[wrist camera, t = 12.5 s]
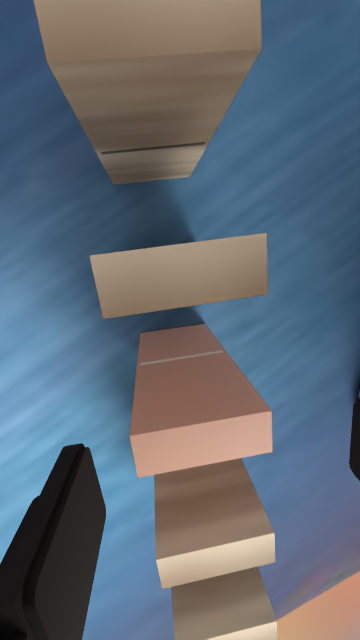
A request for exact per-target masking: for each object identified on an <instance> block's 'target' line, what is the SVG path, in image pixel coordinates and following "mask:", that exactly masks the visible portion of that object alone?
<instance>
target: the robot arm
mask: <svg viewBox="0 0 360 640" xmlns="http://www.w3.org/2000/svg"><path fill="white" fill-rule="evenodd" d="M349 464H350V468H351V470H352V472H353V474H354V475H355V476H356V477H357V478H358V480H359V481H360V392H359V398H358V399H357V401H356V403H354V405H353V417H352V431H351V445H350V460H349ZM105 518H106V508H105V503H104V500H103V496H102V492H101V488H100V485H99V481H98V477H97V474H96V470H95V466H94V463H93V459H92V455H91V451H90V448H89V447H84V445H83V444H75V445H69V446H65V447H63V449H62V451H61V453H60V455H59V457H58V459H57V461H56V463H55V465H54V467H53V469H52V471H51V473H50V475H49V477H48V479H47V481H46V483H45V485H44V488H43V490H42V492H41V494H40V496H37V497H36V498H35V499H34V500H33V501H32V503H31V505H30V506H29V508H28V510H27V512H26V514H25V516H24V518H23V520H22V522H21V524H20V526H19V528H18V530H17V532H16V534H15V536H14V538H13V540H12V542H11V544H10V546H9V548H8V550H7V552H6V554H5V556H4V558H3V560H2V562H1V564H0V640H82V636H83V631H84V626H85V621H86V616H87V610H88V605H89V600H90V595H91V590H92V585H93V580H94V575H95V570H96V565H97V560H98V555H99V549H100V544H101V539H102V534H103V529H104V524H105Z"/></svg>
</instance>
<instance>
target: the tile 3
mask: <svg viewBox="0 0 360 640" xmlns="http://www.w3.org/2000/svg"><path fill="white" fill-rule="evenodd" d="M130 441H131V446H132V451H133V456H134V460H135V465H136V470H137V475H138V478H139V477H145V476H150V475H155V474H160V473H165V472H171V471H176V470H181V469H186V468H191V467H197V466H202V465H207V464H212V463H217V462H223V461H228V460H233V459H238V458H243V457H249V456H254V455H259V454H264V453H269V452H272V411H271V409H270V408H269V407H268V405H267V404H266V403H265V401H264V400H263V399H262V397H261V396H260V395H259V393H258V392H257V391H256V390H255V388H254V387H253V386H252V384H251V383H250V382H249V380H248V379H247V378H246V376H245V375H244V374H243V373H242V371H241V370H240V369H239V367H238V366H237V365H236V363H235V362H234V361H233V359H232V358H231V357H230V356H229V354H228V353H227V352H226V350H225V349H224V348H223V346H222V345H221V344H220V342H219V341H218V340H217V338H216V337H215V336H214V335H213V333H212V332H211V331H210V329H209V328H208V327H207V325H206V324H199V325H192V326H185V327H178V328H171V329H165V330H158V331H151V332H144V333H140V341H139V351H138V360H137V370H136V379H135V389H134V398H133V408H132V417H131V427H130Z"/></svg>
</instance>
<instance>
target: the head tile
mask: <svg viewBox="0 0 360 640" xmlns="http://www.w3.org/2000/svg"><path fill="white" fill-rule="evenodd" d="M171 591H172V606H173V621H174V636H175V640H277V621H276V618H275V615H274V612H273V609H272V606H271V603H270V600H269V597H268V595H267V592H266V589H265V586H264V583H263V580H262V577H261V574H260V571H259V568H258V566H257V567H253V568H249V569H244V570H240V571H236V572H232V573H228V574H224V575H219V576H215V577H211V578H207V579H203V580H198V581H194V582H190V583H186V584H182V585H177V586H173V587H171Z"/></svg>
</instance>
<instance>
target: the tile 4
mask: <svg viewBox="0 0 360 640" xmlns="http://www.w3.org/2000/svg"><path fill="white" fill-rule="evenodd" d="M154 489H155V531H156V562H157V566H158V571H159V575H160V580H161V584H162V589H165V588H169V587H173V586H177V585H182V584H186V583H190V582H194V581H198V580H203V579H207V578H211V577H215V576H219V575H224V574H228V573H232V572H236V571H240V570H244V569H249V568H253V567H257V566H261V565H265V564H270V563H274V562H275V535H274V531H273V529H272V526H271V524H270V522H269V520H268V517H267V515H266V513H265V511H264V508H263V506H262V504H261V501H260V499H259V497H258V495H257V492H256V490H255V488H254V486H253V483H252V481H251V479H250V477H249V474H248V472H247V470H246V468H245V465H244V463H243V461H242V459H241V458H238V459H233V460H228V461H223V462H217V463H212V464H207V465H202V466H197V467H191V468H186V469H181V470H176V471H171V472H165V473H160V474H155V475H154Z"/></svg>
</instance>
